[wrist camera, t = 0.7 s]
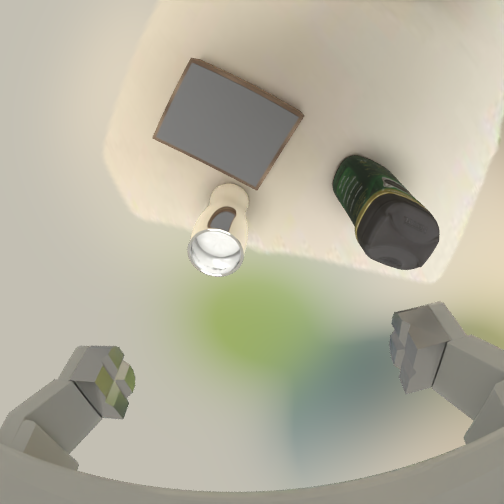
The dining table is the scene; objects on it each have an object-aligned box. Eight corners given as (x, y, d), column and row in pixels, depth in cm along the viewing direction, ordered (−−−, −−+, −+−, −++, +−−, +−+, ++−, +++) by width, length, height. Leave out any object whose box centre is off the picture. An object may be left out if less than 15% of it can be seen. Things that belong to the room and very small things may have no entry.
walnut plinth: (199, 59, 36) (190, 57, 32) (300, 111, 40) (304, 116, 35) (163, 131, 42) (151, 138, 38) (258, 178, 46) (257, 191, 41)
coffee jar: (324, 193, 46) (352, 261, 31) (345, 147, 42) (389, 195, 27) (376, 213, 48) (419, 285, 32) (398, 172, 44) (456, 229, 28)
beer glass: (199, 205, 49) (175, 258, 36) (223, 171, 45) (205, 215, 33) (235, 228, 51) (223, 287, 38) (260, 197, 47) (258, 249, 35)
